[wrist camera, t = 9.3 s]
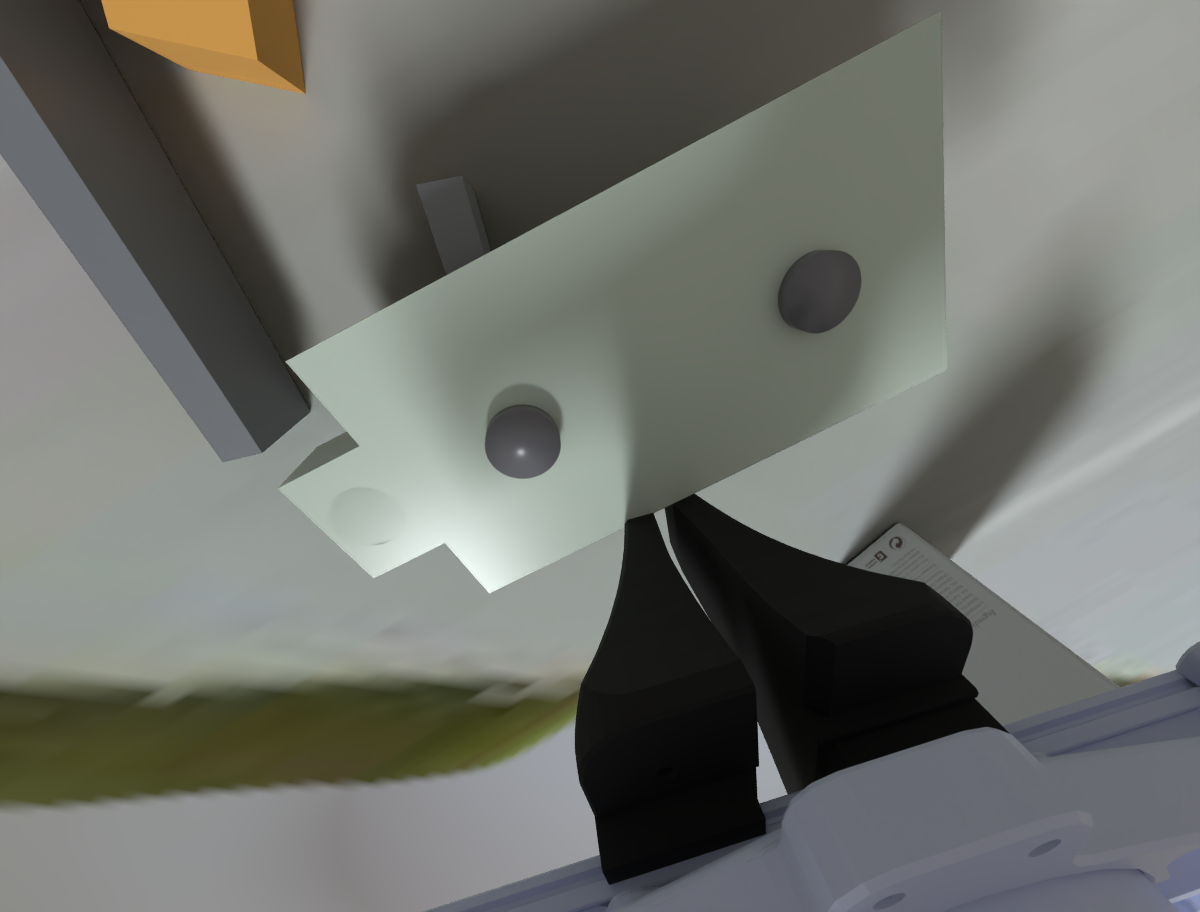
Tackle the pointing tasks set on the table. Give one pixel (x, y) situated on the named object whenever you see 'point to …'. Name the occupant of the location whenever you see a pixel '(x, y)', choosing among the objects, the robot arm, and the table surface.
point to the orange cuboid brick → (217, 36)
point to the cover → (648, 333)
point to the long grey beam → (158, 226)
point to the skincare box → (991, 634)
